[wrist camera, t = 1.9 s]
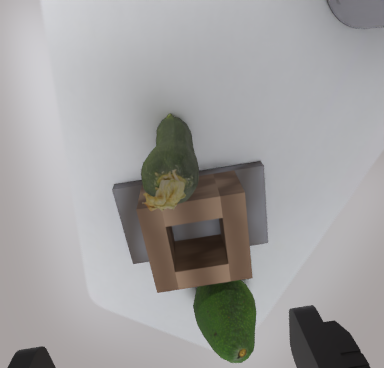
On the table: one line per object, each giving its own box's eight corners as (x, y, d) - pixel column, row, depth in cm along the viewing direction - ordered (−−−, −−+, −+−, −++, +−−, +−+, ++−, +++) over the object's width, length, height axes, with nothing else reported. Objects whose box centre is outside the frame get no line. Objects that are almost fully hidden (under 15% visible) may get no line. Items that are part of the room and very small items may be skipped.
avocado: (236, 305, 48) (255, 383, 37) (186, 297, 46) (190, 376, 35) (253, 263, 44) (280, 335, 34) (200, 254, 43) (209, 325, 32)
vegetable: (198, 132, 36) (223, 222, 18) (170, 156, 37) (167, 263, 19) (172, 102, 35) (172, 168, 16) (144, 128, 36) (114, 216, 17)
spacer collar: (260, 161, 38) (279, 187, 31) (265, 236, 43) (282, 273, 36) (114, 184, 38) (101, 215, 31) (134, 256, 43) (127, 297, 36)
